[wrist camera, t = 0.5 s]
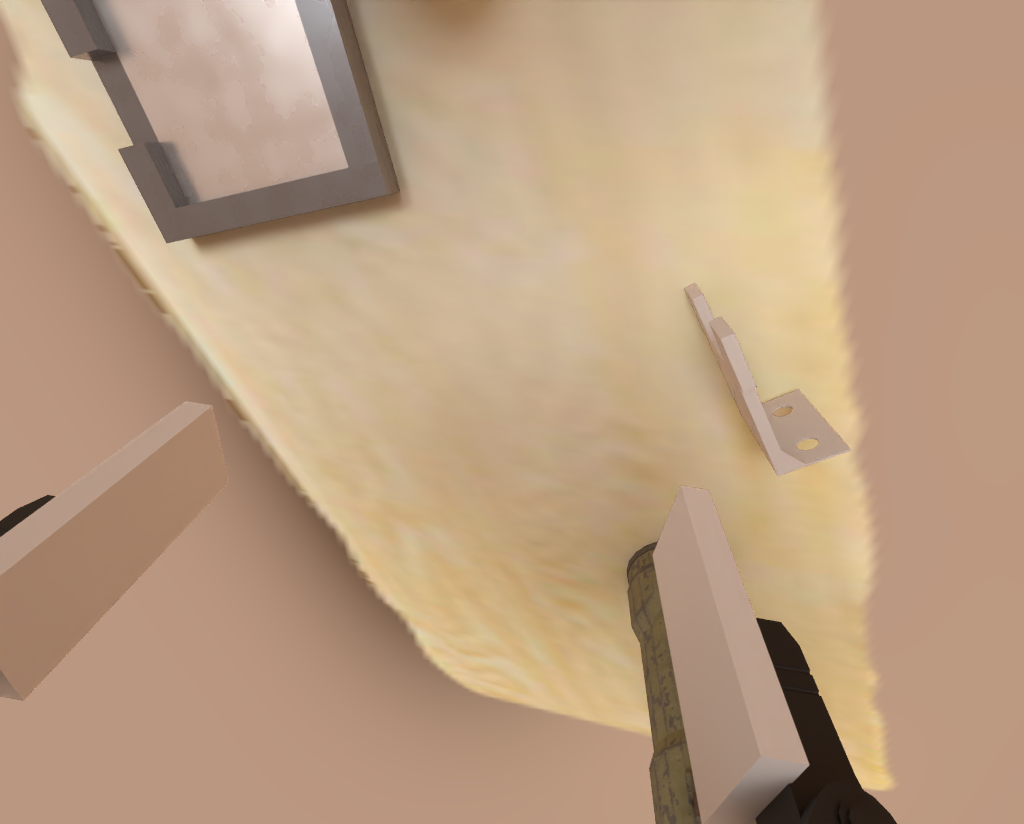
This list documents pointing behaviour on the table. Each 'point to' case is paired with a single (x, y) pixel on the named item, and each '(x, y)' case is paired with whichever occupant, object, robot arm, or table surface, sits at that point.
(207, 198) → the chassis pocket
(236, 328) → the table surface
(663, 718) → the thermos
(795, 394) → the bracket
